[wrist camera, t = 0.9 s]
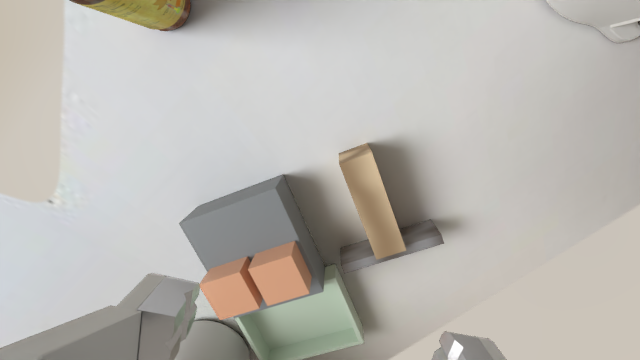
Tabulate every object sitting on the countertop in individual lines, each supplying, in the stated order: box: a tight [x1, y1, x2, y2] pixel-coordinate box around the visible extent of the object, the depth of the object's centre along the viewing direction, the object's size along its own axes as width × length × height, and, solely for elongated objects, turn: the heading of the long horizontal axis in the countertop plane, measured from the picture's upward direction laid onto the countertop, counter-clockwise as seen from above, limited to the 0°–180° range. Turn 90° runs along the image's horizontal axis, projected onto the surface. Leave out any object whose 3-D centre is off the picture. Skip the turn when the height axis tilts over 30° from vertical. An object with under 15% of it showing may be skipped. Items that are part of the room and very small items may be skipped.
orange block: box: [200, 256, 263, 320], centre depth 34 cm, size 5×5×3 cm
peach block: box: [248, 241, 312, 306], centre depth 33 cm, size 5×5×3 cm
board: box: [179, 175, 325, 318], centre depth 37 cm, size 12×14×5 cm
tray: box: [235, 264, 364, 360], centre depth 41 cm, size 15×11×3 cm
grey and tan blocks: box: [339, 143, 444, 273], centre depth 34 cm, size 12×13×5 cm
